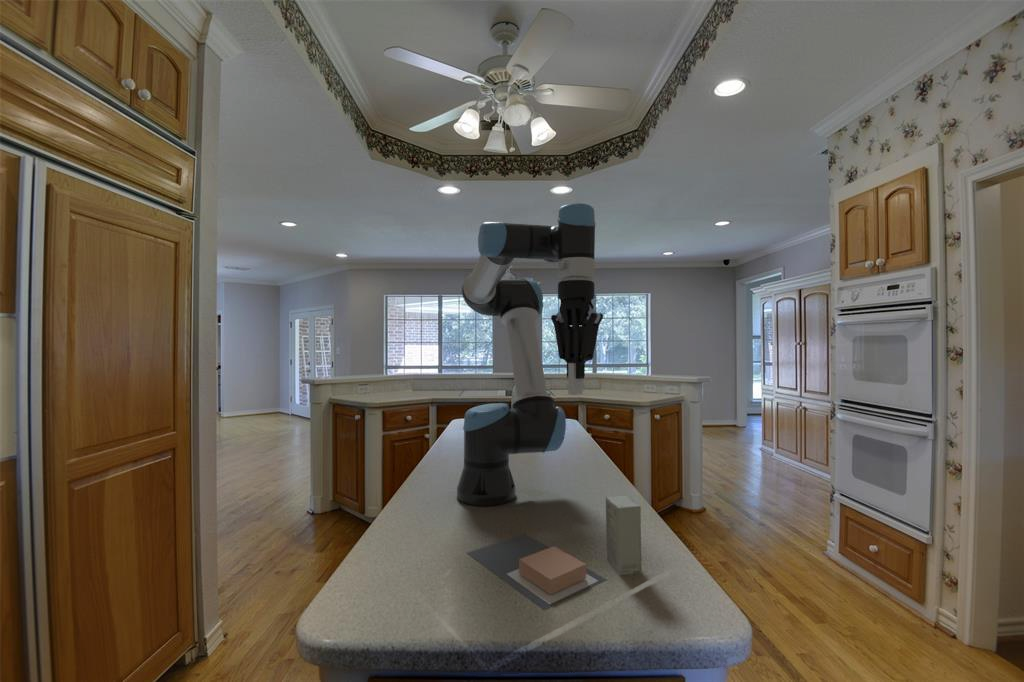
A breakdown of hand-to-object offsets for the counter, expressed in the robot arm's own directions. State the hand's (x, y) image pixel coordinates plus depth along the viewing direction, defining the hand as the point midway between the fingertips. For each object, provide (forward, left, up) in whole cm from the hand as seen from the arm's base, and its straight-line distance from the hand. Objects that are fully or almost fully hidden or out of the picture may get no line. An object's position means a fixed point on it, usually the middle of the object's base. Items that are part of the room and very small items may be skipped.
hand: (575, 394), depth 94 cm
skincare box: (+15, -3, -30) cm, 33 cm away
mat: (+5, -16, -29) cm, 34 cm away
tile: (+7, -16, -27) cm, 32 cm away
